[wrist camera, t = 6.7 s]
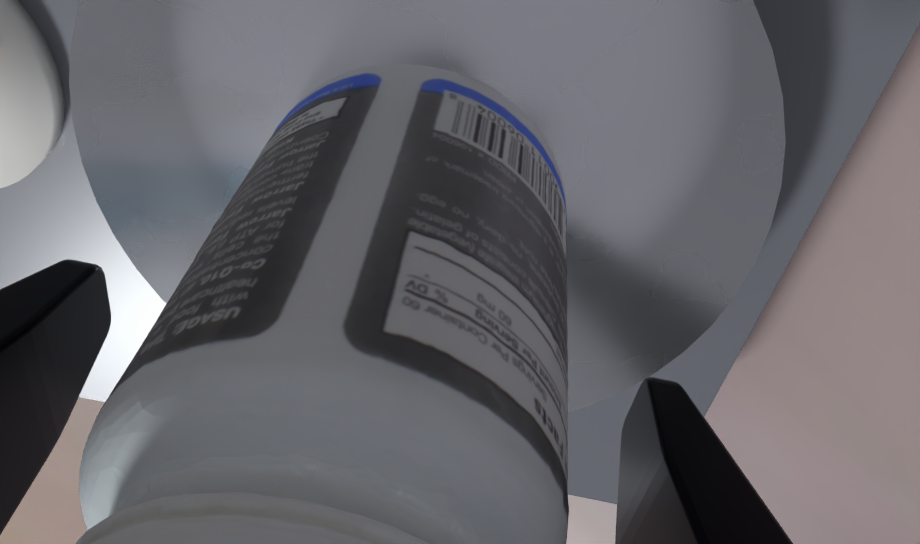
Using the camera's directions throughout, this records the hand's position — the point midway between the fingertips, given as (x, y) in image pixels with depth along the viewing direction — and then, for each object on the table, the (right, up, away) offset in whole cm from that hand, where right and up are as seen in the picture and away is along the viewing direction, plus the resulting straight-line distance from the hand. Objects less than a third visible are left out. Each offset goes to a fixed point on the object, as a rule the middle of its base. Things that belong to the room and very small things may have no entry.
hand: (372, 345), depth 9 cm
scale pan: (+1, +3, +3) cm, 5 cm away
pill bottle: (0, +2, +3) cm, 4 cm away
